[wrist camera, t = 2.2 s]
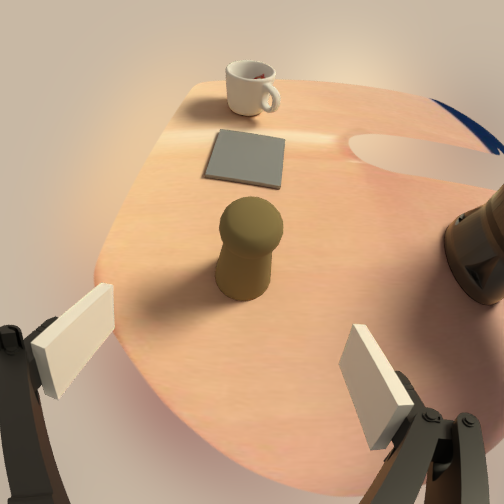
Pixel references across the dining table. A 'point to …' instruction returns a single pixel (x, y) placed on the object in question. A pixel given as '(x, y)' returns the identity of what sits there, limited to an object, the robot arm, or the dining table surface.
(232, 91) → the cup
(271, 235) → the pepper mill
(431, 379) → the dining table surface
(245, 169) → the coaster
